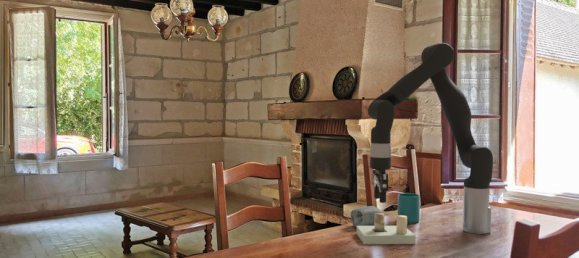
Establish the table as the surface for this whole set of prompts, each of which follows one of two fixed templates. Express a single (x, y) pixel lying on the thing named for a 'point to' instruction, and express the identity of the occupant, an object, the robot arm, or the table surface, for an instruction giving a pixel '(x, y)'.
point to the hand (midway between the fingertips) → (379, 200)
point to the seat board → (387, 233)
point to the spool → (364, 216)
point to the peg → (379, 222)
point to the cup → (409, 206)
